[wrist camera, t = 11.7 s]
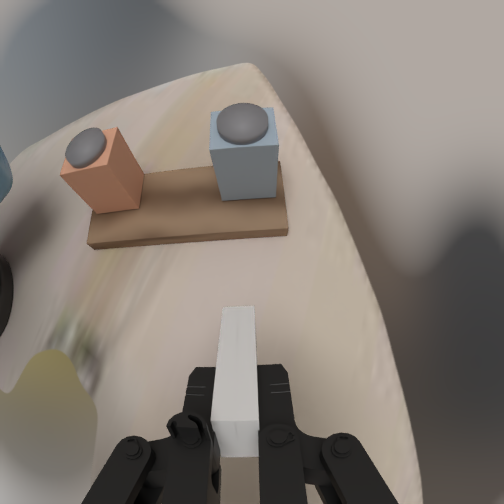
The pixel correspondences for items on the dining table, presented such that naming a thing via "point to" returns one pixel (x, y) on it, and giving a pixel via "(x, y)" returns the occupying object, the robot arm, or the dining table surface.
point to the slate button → (244, 151)
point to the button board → (188, 213)
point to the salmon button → (103, 171)
